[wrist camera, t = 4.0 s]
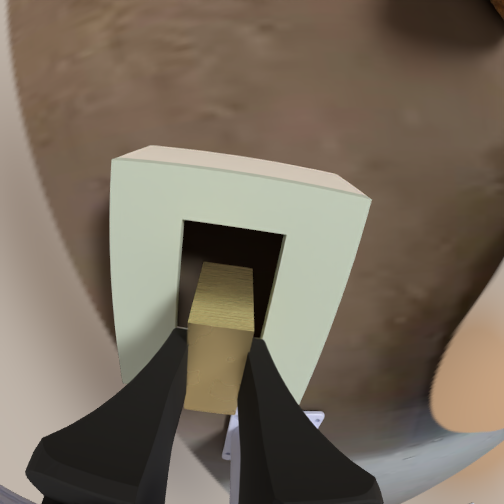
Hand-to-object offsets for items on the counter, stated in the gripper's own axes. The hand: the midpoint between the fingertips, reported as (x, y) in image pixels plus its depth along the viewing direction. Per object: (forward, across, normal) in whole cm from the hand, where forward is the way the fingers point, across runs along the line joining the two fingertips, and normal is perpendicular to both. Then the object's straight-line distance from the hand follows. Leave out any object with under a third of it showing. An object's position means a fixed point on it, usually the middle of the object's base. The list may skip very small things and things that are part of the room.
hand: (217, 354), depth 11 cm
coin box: (+8, 0, 0) cm, 8 cm away
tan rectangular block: (+3, 0, 0) cm, 3 cm away
